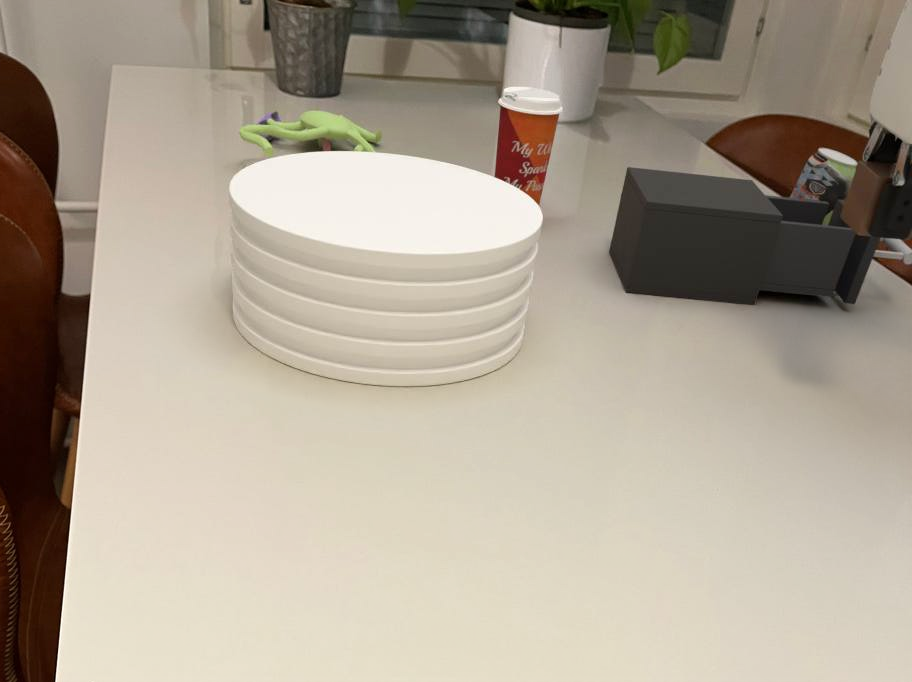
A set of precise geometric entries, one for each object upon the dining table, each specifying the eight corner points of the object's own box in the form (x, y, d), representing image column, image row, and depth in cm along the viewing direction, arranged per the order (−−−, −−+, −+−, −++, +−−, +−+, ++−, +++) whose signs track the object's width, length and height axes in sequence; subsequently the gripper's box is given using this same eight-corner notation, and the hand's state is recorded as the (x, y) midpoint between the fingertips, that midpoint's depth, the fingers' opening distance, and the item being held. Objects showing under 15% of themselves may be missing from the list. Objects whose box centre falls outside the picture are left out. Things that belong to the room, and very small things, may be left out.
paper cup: (507, 230, 120) (526, 102, 111) (471, 209, 125) (486, 86, 115) (557, 224, 124) (579, 100, 115) (520, 204, 128) (538, 84, 119)
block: (890, 221, 84) (911, 165, 81) (910, 240, 80) (933, 181, 77) (839, 217, 83) (858, 160, 80) (857, 235, 80) (878, 176, 77)
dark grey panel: (869, 272, 119) (895, 205, 114) (905, 309, 110) (935, 238, 105) (713, 256, 117) (733, 188, 112) (737, 293, 109) (759, 220, 104)
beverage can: (762, 241, 127) (794, 140, 119) (818, 248, 127) (853, 148, 119) (773, 258, 122) (807, 154, 114) (831, 265, 122) (869, 162, 115)
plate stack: (206, 271, 100) (200, 150, 93) (458, 261, 110) (471, 151, 102) (273, 398, 81) (273, 258, 74) (572, 374, 91) (598, 248, 83)
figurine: (236, 181, 124) (234, 133, 120) (255, 126, 144) (254, 83, 140) (382, 195, 125) (385, 147, 122) (381, 139, 146) (383, 97, 142)
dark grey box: (727, 264, 119) (752, 180, 112) (754, 305, 109) (783, 215, 103) (608, 252, 118) (627, 166, 111) (625, 292, 108) (647, 201, 102)
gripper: (1085, -15, 64) (961, 267, 76) (972, -48, 76) (881, 197, 88) (974, -27, 63) (867, 259, 75) (879, -58, 76) (800, 190, 88)
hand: (876, 223), depth 82 cm, fingers closed on block, 4 cm apart
